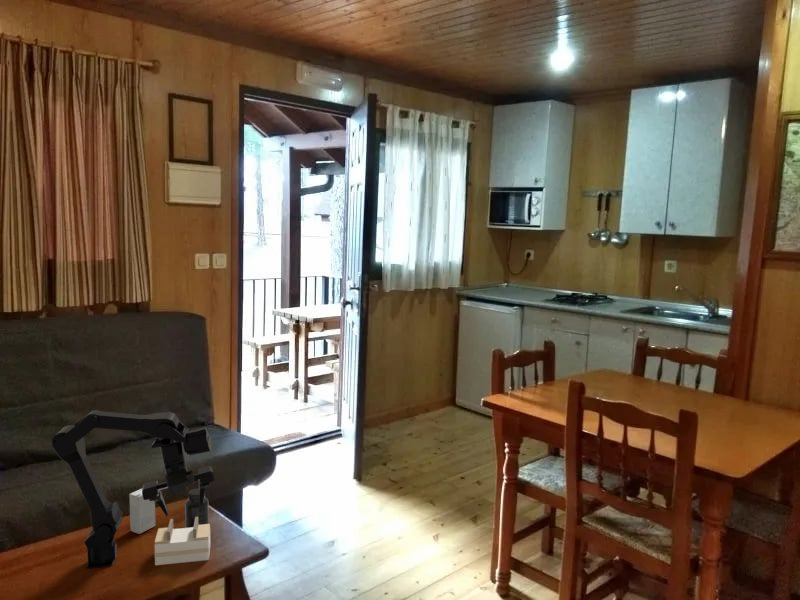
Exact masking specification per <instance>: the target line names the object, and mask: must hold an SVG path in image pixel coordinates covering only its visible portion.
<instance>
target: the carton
mask: <svg viewBox="0 0 800 600" xmlns="http://www.w3.org/2000/svg"><path fill="white" fill-rule="evenodd" d="M210 551H211V529H210V530H209V538H208V539H197V540H193V527H191V528H186V527H182V528H174V529H173V533H172V537H171V541H170V542H166V543H155V542H154V566H162V565H163V566H164V565H173V564H181V563H183V564H184V563H191V562H193V563H194V562H201V561H202V562H203V561H209V560H210V553H211V552H210Z"/></svg>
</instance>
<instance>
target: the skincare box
mask: <svg viewBox="0 0 800 600" xmlns="http://www.w3.org/2000/svg"><path fill="white" fill-rule="evenodd" d="M128 496H129V521H130V522H129V525H130V531H131V532H133V533H134V534H135V533H136V534H139V535H141V534H142V533H144V532H146V531H148V530H151V529H152V528H154V527H156V502H155V501H149V499H148V500H144V499H143V495H142V488H140V489H138V490H135V491H133V492H131V493H129V495H128Z"/></svg>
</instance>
